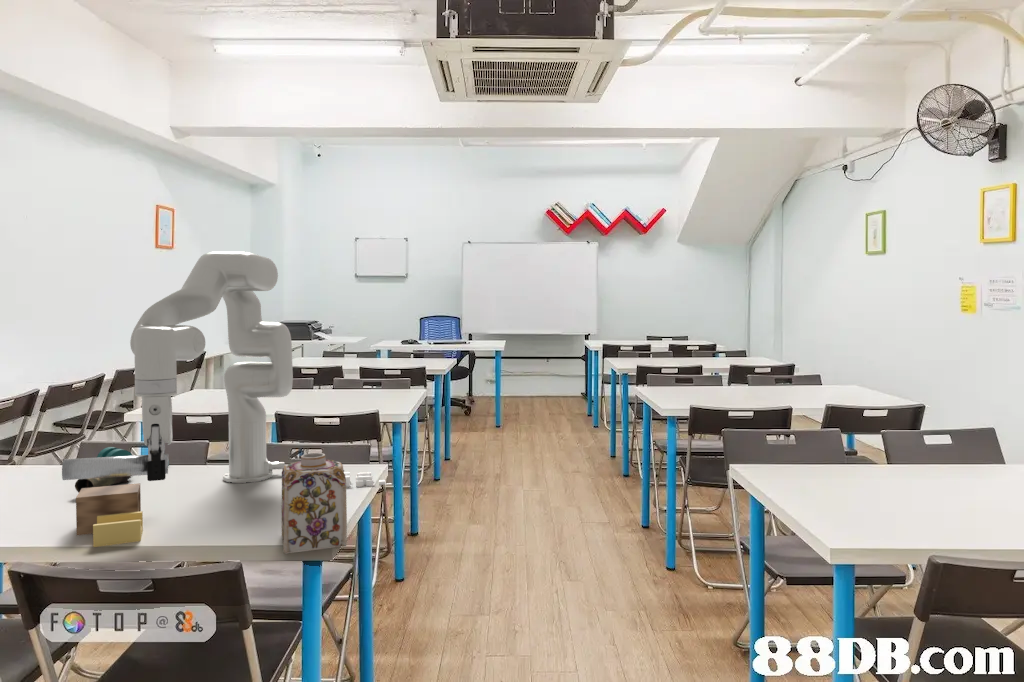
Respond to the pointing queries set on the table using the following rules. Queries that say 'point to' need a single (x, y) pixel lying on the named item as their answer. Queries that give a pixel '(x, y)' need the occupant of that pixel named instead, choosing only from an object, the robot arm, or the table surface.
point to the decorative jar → (313, 504)
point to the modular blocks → (363, 479)
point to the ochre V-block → (118, 529)
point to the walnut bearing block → (105, 504)
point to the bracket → (115, 452)
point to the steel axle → (106, 467)
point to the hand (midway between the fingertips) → (157, 476)
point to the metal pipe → (99, 482)
